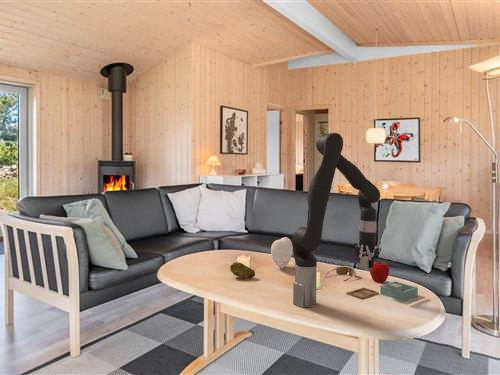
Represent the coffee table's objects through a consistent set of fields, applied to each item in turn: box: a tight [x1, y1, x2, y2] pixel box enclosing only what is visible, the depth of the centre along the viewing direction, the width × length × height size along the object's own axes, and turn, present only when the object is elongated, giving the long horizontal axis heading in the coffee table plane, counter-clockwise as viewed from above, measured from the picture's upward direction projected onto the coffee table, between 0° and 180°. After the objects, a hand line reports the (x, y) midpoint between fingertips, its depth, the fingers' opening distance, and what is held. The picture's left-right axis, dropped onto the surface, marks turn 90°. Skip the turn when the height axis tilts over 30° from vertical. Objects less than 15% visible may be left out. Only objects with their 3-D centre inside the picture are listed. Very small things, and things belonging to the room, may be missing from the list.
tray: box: [345, 287, 380, 300], centre depth 180 cm, size 13×9×1 cm
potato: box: [229, 261, 256, 280], centre depth 206 cm, size 8×13×8 cm, turn 58°
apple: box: [369, 261, 390, 284], centre depth 199 cm, size 10×10×11 cm
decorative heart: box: [270, 236, 293, 271], centre depth 225 cm, size 18×11×17 cm, turn 149°
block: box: [359, 255, 373, 270], centre depth 180 cm, size 4×4×5 cm
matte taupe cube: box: [389, 283, 402, 291], centre depth 177 cm, size 4×4×5 cm
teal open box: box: [379, 280, 419, 302], centre depth 178 cm, size 12×12×4 cm
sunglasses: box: [324, 265, 357, 282], centre depth 207 cm, size 14×15×5 cm
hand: (366, 266), depth 180 cm, fingers closed on block, 4 cm apart
